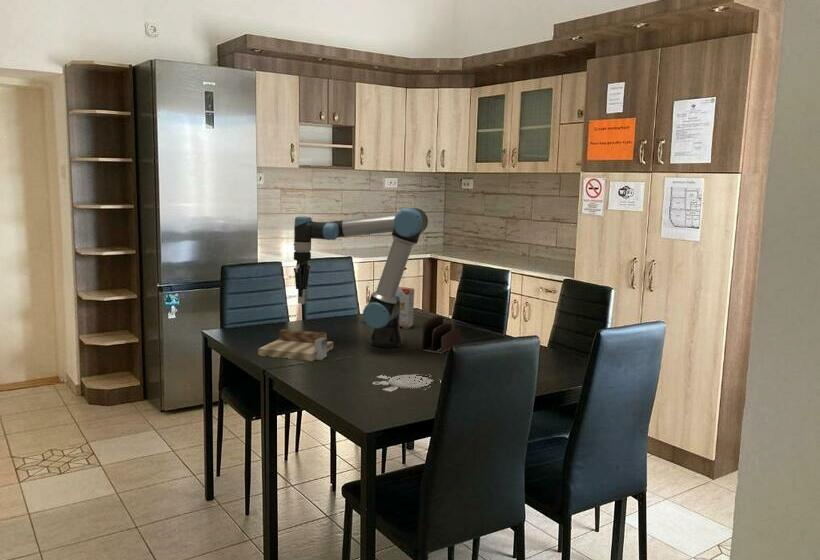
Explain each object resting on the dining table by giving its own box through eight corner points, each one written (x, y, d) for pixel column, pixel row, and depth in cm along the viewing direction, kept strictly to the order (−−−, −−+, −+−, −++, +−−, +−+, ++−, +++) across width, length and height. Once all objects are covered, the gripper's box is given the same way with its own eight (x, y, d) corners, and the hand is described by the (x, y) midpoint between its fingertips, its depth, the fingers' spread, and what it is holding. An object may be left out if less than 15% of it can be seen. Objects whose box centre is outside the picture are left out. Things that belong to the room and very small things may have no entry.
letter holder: (421, 351, 296) (422, 320, 294) (440, 343, 313) (441, 313, 311) (441, 354, 291) (443, 323, 289) (460, 346, 308) (461, 316, 307)
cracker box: (384, 326, 347) (385, 286, 345) (389, 324, 353) (391, 285, 350) (407, 329, 341) (409, 289, 338) (413, 327, 346) (414, 287, 344)
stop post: (326, 356, 279) (327, 338, 278) (321, 360, 274) (321, 341, 273) (319, 356, 280) (320, 337, 279) (314, 359, 274) (314, 340, 273)
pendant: (453, 392, 238) (454, 388, 238) (376, 393, 233) (376, 389, 233) (440, 375, 259) (440, 372, 259) (368, 376, 254) (368, 373, 254)
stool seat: (333, 348, 294) (333, 341, 294) (312, 361, 271) (312, 354, 271) (283, 343, 300) (283, 337, 300) (258, 355, 277) (258, 348, 277)
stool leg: (328, 342, 293) (328, 331, 292) (324, 344, 289) (324, 333, 288) (283, 337, 298) (283, 327, 297) (279, 339, 294) (279, 329, 293)
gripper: (300, 249, 304) (299, 300, 307) (288, 251, 292) (287, 305, 295) (315, 250, 302) (314, 302, 305) (304, 253, 290) (303, 306, 293)
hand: (301, 303), depth 300 cm, fingers closed
